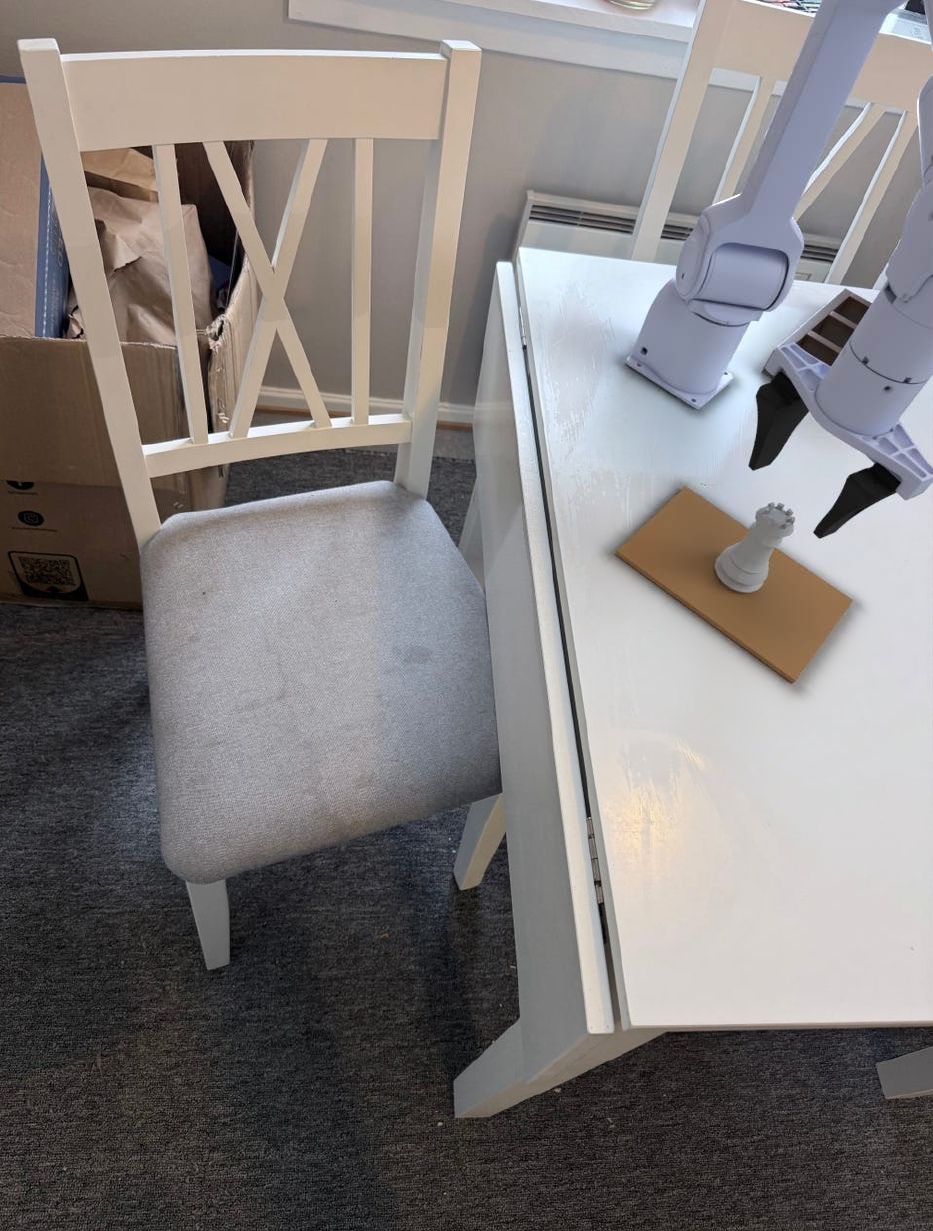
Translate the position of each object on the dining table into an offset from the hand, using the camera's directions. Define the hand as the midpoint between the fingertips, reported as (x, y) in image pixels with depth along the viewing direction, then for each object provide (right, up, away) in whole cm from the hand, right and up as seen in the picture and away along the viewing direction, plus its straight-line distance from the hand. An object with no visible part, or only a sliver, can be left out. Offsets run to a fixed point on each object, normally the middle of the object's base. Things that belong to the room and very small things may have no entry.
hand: (790, 497), depth 66 cm
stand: (+16, +21, +31) cm, 41 cm away
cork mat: (-2, -6, +8) cm, 10 cm away
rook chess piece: (-2, -6, +7) cm, 10 cm away
